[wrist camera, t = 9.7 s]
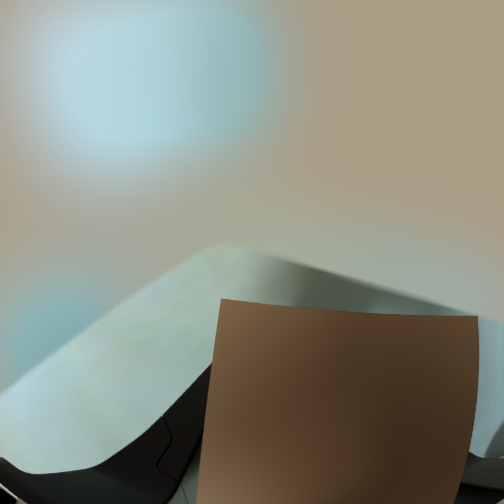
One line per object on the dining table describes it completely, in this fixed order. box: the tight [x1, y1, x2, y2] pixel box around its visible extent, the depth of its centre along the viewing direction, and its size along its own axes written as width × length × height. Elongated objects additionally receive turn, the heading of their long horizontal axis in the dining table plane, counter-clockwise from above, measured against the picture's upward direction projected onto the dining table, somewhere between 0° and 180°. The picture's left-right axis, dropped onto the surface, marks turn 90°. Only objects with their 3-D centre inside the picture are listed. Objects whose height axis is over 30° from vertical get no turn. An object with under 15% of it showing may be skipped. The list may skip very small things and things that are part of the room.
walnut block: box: [196, 299, 479, 504], centre depth 8 cm, size 4×4×13 cm
